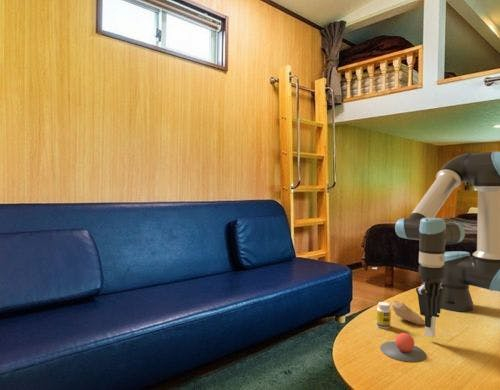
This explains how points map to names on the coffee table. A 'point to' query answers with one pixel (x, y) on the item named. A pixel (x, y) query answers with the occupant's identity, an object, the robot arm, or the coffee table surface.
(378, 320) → the supplement bottle
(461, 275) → the robot arm
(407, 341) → the ball
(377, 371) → the coffee table surface
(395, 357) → the disc
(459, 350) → the coffee table surface
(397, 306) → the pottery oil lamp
